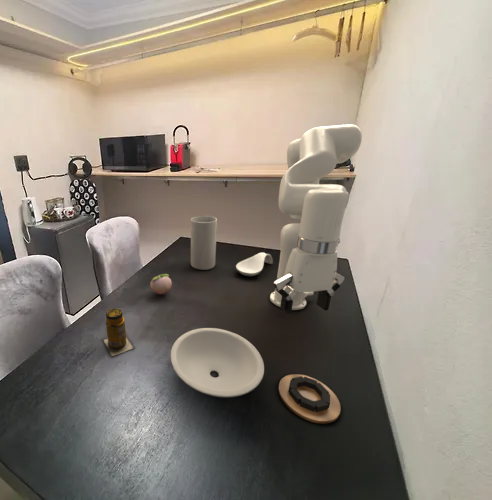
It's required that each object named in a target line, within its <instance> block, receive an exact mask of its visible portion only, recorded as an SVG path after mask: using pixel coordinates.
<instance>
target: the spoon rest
mask: <svg viewBox="0 0 492 500" xmlns="http://www.w3.org/2000/svg"><path fill="white" fill-rule="evenodd" d="M265 263H266V264H270V265H273V263H274V260H273V257H272V255H271V254H270V253H265V252H259V253H257V254H254V255H253V256H251V257H248V258H246V259H243V260H241V261H239V262H237V264H236V265H235V269H236V270H237V272H238V273H240V275H243V276H246V277H255V276H257V275H259V274H261V272H262V271H263V269H264V265H265Z"/></svg>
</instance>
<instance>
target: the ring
mask: <svg viewBox="0 0 492 500" xmlns="http://www.w3.org/2000/svg"><path fill="white" fill-rule="evenodd" d="M301 386H306V387H309V388H311V389H314V390H315V391H316V392H317V393H318V394H319V395H320V396H321V400H317V401H312V400H310V399H307V398H305V397H303V396H302V395H301V394H300V393H299V392H298V390H297V387H301ZM288 392H289V395H290V396H291V397H292V398H293V399H294V401H295V402H296V403H297V404H300V406H301V407H303V408H306V409H308V410H311V411H313V412H314V410H315V411H316V412H320V411H324V410H327V409H328V408H329V405H330V394H329V392H328V391H327V390H326V389H325V388H324V387H323V386H322V385H321V384H320V383H317V381H315V380H313V379H310V378H307V377H304V378H303V377H302V376H300V377H296V378H292V380H290V385H289V391H288Z"/></svg>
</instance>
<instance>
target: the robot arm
mask: <svg viewBox="0 0 492 500" xmlns="http://www.w3.org/2000/svg"><path fill="white" fill-rule="evenodd" d="M361 144H362V131H361V129H360V127H358V126H357V125H356V124H338V125H324V126H317V127H312V128H310V129H309V130H307V131H306V132H304V133H303V134H302V136H301V138H298V139H295V140H293V141H291V142H290V143H289V144H288V146H287V150H286V163H287V168H288V169H287V170H286V171H285V173H284V174H283V176H282V177H281V180H280V184H279V190H278V191H279V192H278V200H277V201H278V208H279V209H278V210H280V212H281V213H282V214H285V215H288V216H289V217H290V218H291V219H293V220H299V221H300V222H299V223H298V222H293V223H288V224H286V225H284V226H283V227H282V228H281V229H280V254H279V262H278V268H277V275H276V280H274V282H273V286H274V288H275V289H274V291H273V292H271V293H270V294H269V300H270V302H271V303H272V304H273V305H275V306H277V307H279V308H280V310H282V311H283V312H284V313H285V314H286V315H288V316H289V315H291V314H292V311H299V310H302V309H304V308H305V307H306V306H307V300H306V298H307V297H311V296H314V294H315V293H314V292H318V294H317V298H316V303H315V304H316V305H317V307H319V308H321V309H322V310H323V311H329V308H330V303H331V299H332V297H333V296H334V295H335V294H336V292H337V290H339V288H340V287H341V285H342V283H343V282H344V281H345V276H344V275H342V274H340V273H338V272H337V270H338V251H337V249H338V247H339V245H340V243H341V230H342V224H343V220H344V219H343V218H344V215H345V211H346V209H347V207H348V204H349V199H350V193H349V192H348V191H347V188H346V187H345V186H344V185H341V184H333V183H320V182H321V181H320V180H321V179H323V178H325V177H327V176H328V175H330V174H331V173H332V172H334V170H335V168H336V167H337V165H338V164H344V163H345V162H347V161H348V160H349V159H351V158H352V157H353V156H355V155H356V154H357V152H358V151H359V149H360V148H361Z"/></svg>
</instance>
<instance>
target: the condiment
mask: <svg viewBox="0 0 492 500" xmlns="http://www.w3.org/2000/svg"><path fill="white" fill-rule="evenodd" d="M105 313H106V314H105V329H106V335H107V338H105V339H103V342H104V344H105V346H106V349H108V351H109V353H110V356H111V357H114V356H117V355H121V354H123V353H125V352H127V351H130V350H132V349H134V347H133V345H132V344H131V342H130V340H129V339H128V337H127V331H126V321H125V318H124V313H123V311H122V310H121V309H120V308H110V309H109V310H107V312H105Z"/></svg>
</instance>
